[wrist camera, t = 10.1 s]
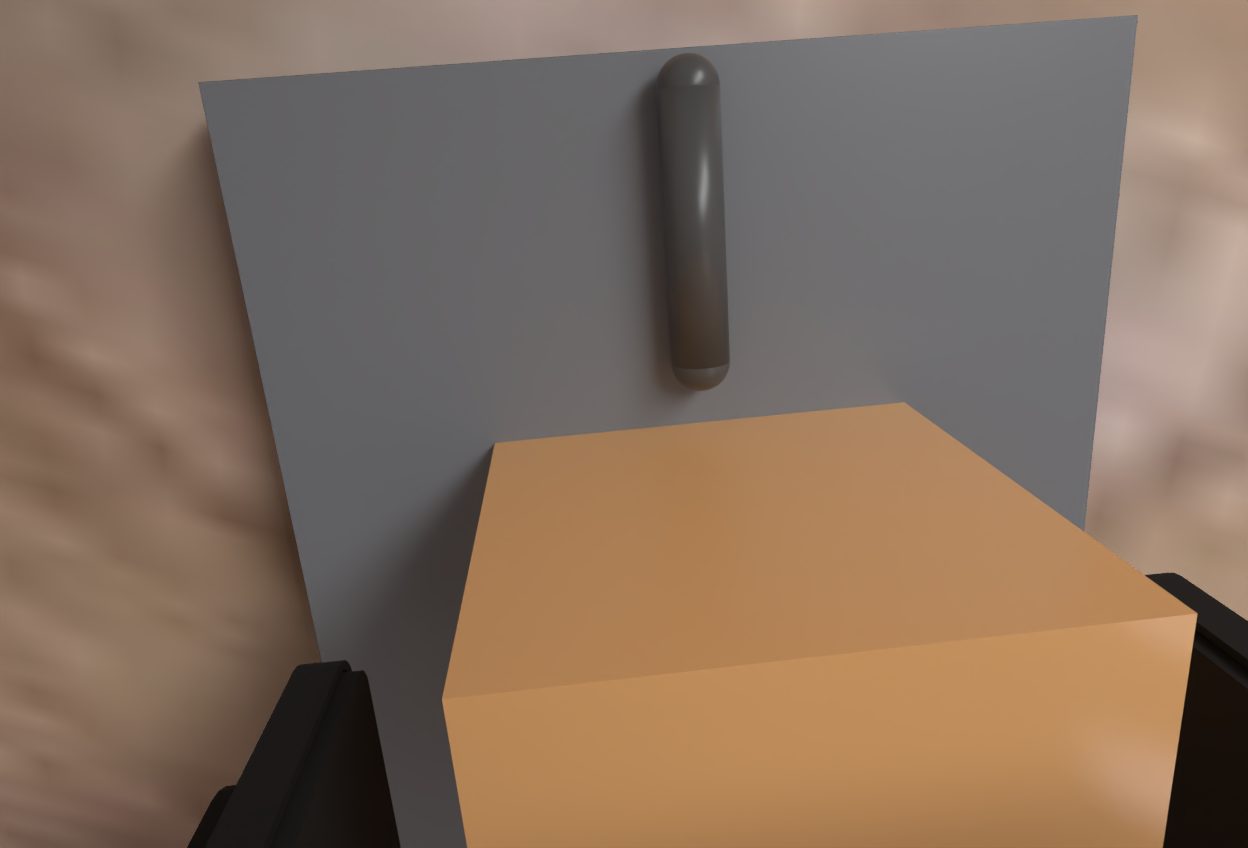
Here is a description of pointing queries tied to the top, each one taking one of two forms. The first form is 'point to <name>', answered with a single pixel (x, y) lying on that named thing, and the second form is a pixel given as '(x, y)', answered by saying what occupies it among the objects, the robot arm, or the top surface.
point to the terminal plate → (652, 285)
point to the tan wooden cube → (803, 648)
